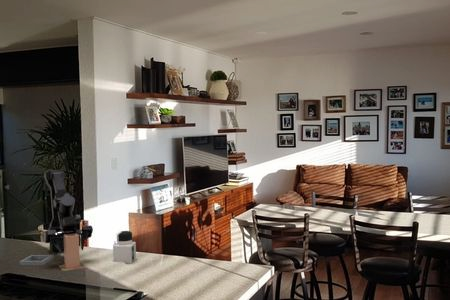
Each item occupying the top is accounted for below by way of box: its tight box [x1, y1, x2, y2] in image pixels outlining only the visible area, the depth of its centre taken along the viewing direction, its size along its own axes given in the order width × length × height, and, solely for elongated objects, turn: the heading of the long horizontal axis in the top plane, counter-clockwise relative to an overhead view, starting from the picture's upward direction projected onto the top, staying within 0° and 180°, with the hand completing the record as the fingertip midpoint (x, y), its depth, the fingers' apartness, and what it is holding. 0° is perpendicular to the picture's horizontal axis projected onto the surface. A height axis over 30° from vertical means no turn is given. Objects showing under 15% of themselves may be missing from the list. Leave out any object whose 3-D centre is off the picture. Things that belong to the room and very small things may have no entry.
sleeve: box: [63, 233, 81, 269], centre depth 185 cm, size 5×5×13 cm
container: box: [112, 230, 137, 265], centre depth 195 cm, size 8×8×13 cm
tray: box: [19, 254, 55, 266], centre depth 194 cm, size 10×10×2 cm
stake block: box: [58, 261, 86, 272], centre depth 186 cm, size 9×9×4 cm
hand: (72, 251), depth 184 cm, fingers open, 8 cm apart
